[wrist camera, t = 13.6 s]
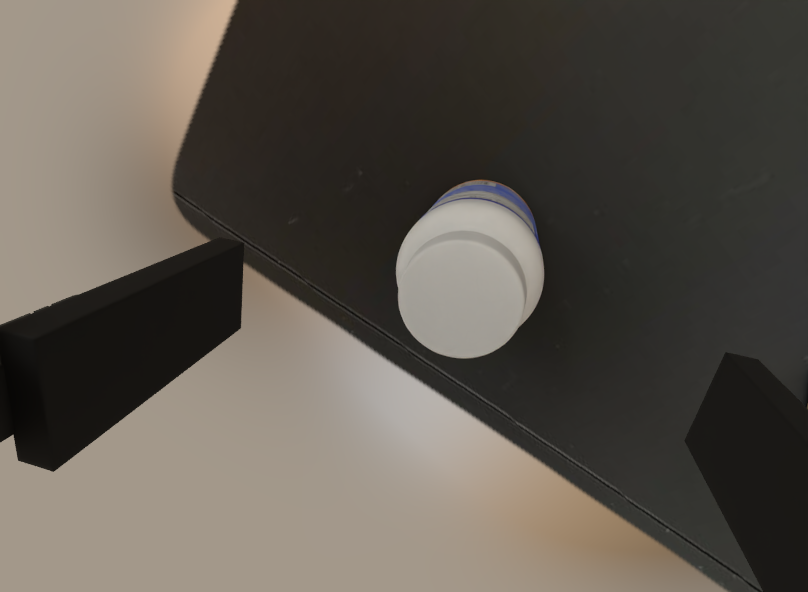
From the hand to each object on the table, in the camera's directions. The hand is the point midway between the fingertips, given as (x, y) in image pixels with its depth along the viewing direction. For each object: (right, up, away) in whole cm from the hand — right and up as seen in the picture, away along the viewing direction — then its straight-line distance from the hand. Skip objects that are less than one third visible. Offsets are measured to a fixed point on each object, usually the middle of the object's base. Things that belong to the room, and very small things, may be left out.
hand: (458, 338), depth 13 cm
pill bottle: (+2, +4, +11) cm, 12 cm away
